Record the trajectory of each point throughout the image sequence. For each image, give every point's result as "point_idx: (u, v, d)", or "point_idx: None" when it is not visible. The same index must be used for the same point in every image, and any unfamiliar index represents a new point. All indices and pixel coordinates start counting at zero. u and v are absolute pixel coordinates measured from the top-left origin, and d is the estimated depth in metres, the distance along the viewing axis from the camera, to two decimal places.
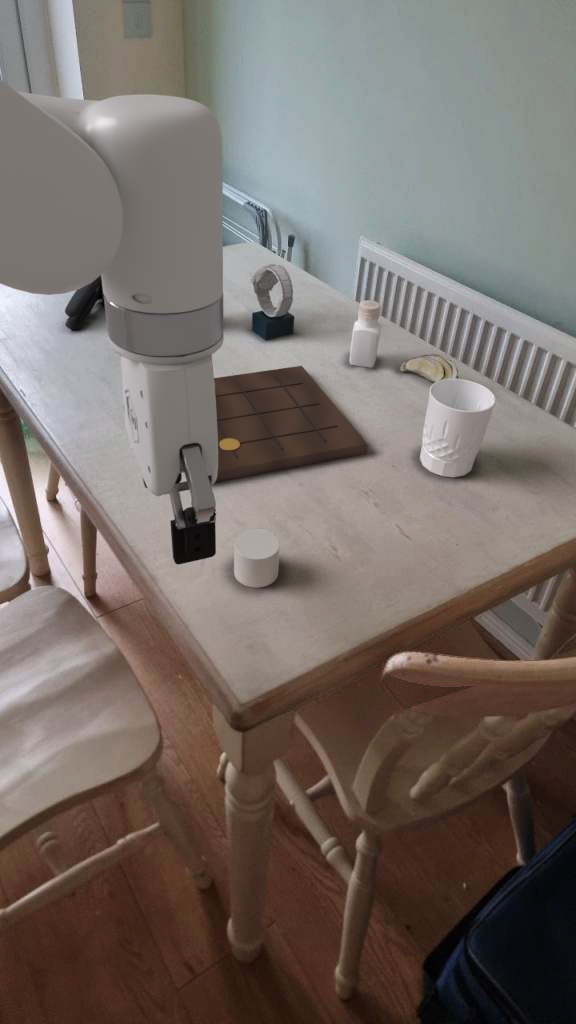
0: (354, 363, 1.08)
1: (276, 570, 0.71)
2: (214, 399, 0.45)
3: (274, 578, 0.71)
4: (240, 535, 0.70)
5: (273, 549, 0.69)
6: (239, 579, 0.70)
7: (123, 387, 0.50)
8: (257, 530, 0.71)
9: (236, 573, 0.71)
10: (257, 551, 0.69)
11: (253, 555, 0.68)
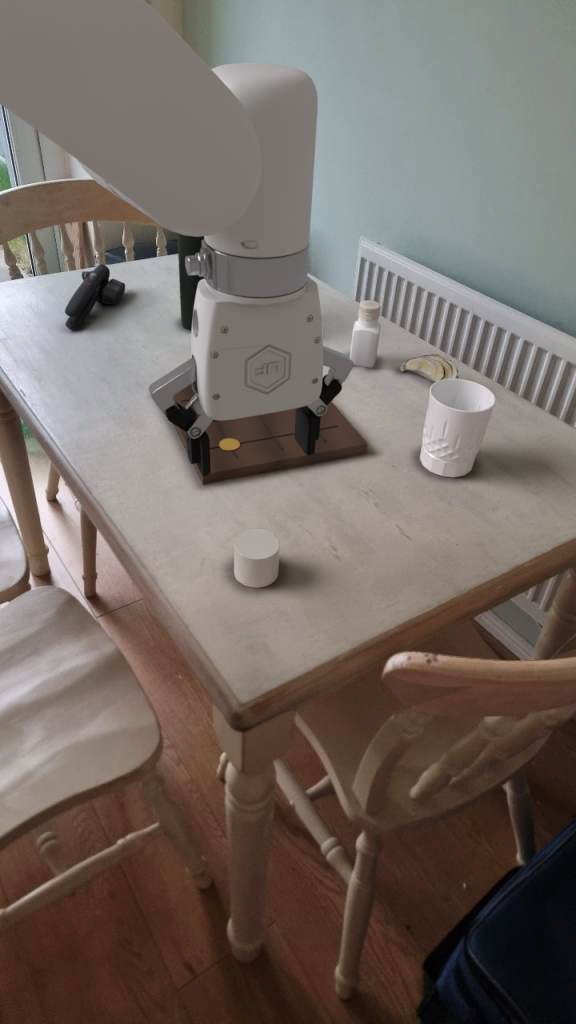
0: (354, 363, 1.08)
1: (276, 570, 0.71)
2: None
3: (274, 578, 0.71)
4: (240, 535, 0.70)
5: (273, 549, 0.69)
6: (239, 579, 0.70)
7: (230, 366, 0.52)
8: (257, 530, 0.71)
9: (236, 573, 0.71)
10: (257, 551, 0.69)
11: (253, 555, 0.68)
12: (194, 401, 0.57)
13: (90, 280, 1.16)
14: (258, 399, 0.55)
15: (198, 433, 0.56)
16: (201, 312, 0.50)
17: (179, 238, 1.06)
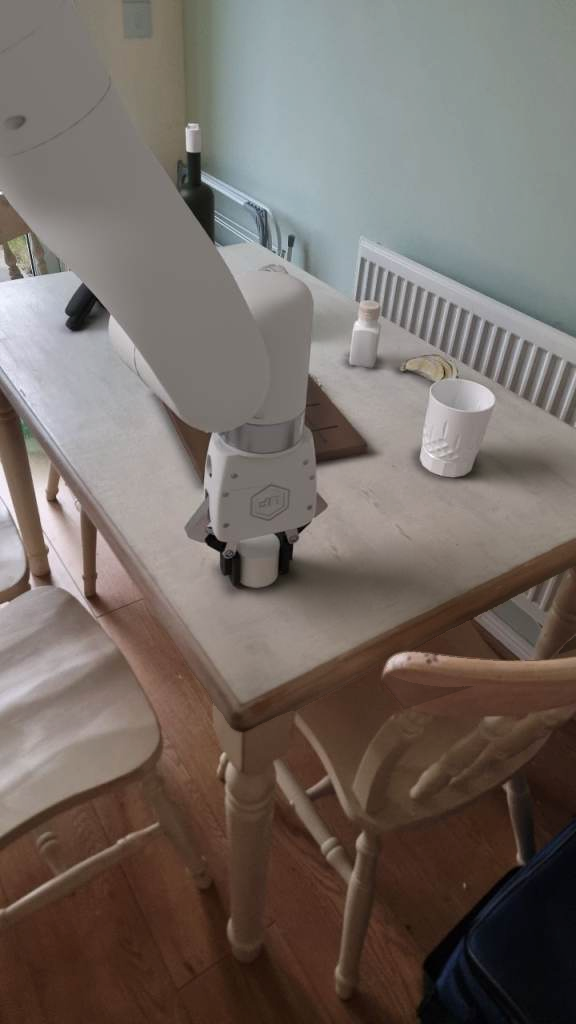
0: (354, 363, 1.08)
1: (276, 570, 0.71)
2: None
3: (274, 578, 0.71)
4: None
5: (273, 549, 0.69)
6: None
7: (238, 502, 0.61)
8: None
9: None
10: (257, 551, 0.69)
11: (253, 555, 0.68)
12: None
13: None
14: (261, 525, 0.64)
15: (231, 554, 0.67)
16: (215, 461, 0.60)
17: None
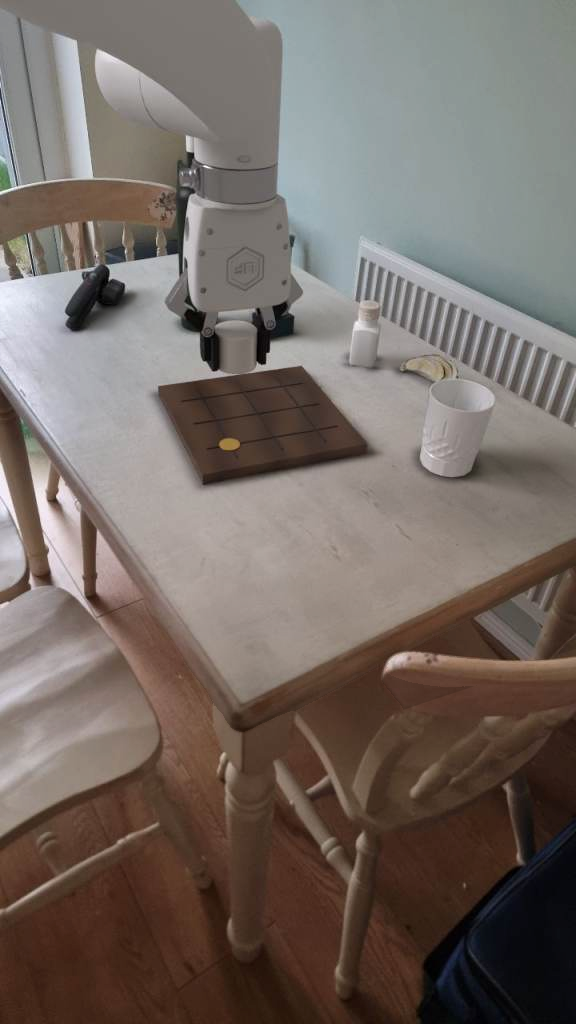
0: (354, 363, 1.08)
1: (254, 358, 0.74)
2: None
3: (252, 367, 0.74)
4: (220, 323, 0.73)
5: (250, 333, 0.72)
6: None
7: (214, 263, 0.65)
8: (236, 321, 0.74)
9: None
10: (235, 334, 0.72)
11: (231, 337, 0.71)
12: None
13: (90, 280, 1.16)
14: (237, 295, 0.67)
15: (210, 333, 0.70)
16: (191, 217, 0.63)
17: (179, 238, 1.06)
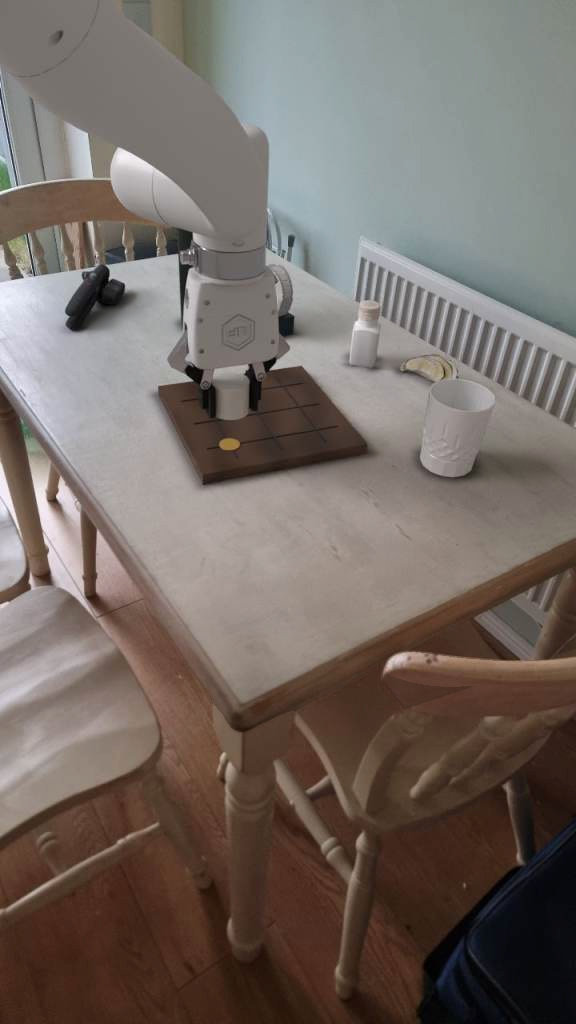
0: (354, 363, 1.08)
1: (247, 406, 0.83)
2: None
3: (245, 413, 0.83)
4: (216, 375, 0.82)
5: (243, 385, 0.81)
6: None
7: (211, 329, 0.73)
8: (230, 372, 0.83)
9: None
10: (230, 385, 0.81)
11: (226, 388, 0.80)
12: None
13: (90, 280, 1.16)
14: (231, 354, 0.76)
15: (207, 385, 0.79)
16: (191, 290, 0.72)
17: (179, 238, 1.06)
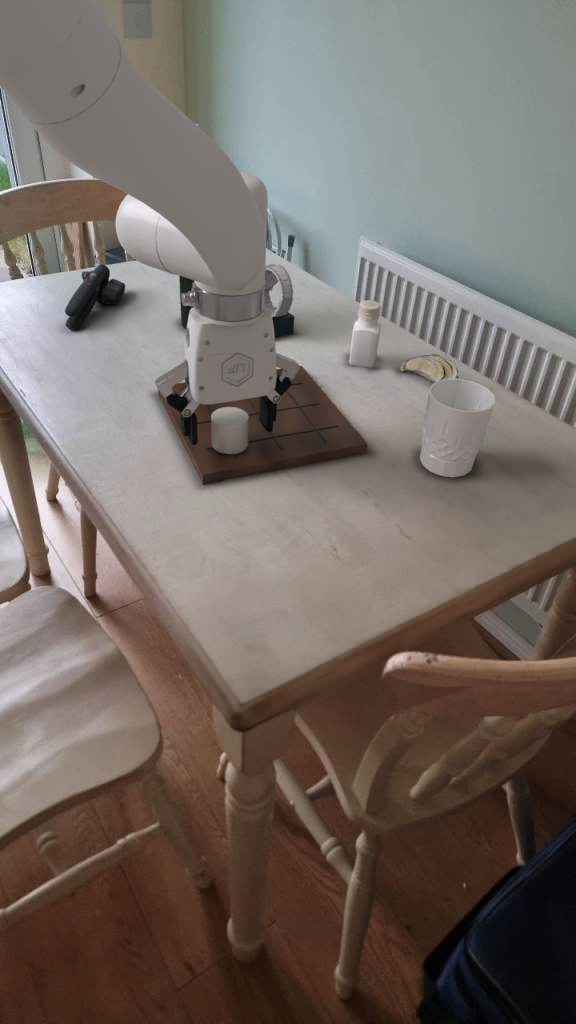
0: (354, 363, 1.08)
1: (246, 440, 0.86)
2: None
3: (244, 447, 0.86)
4: (216, 410, 0.85)
5: (243, 420, 0.84)
6: (215, 447, 0.85)
7: (211, 367, 0.76)
8: (230, 408, 0.86)
9: (213, 442, 0.86)
10: (229, 421, 0.84)
11: (226, 424, 0.83)
12: (186, 391, 0.81)
13: (90, 280, 1.16)
14: (231, 390, 0.79)
15: (189, 413, 0.81)
16: (192, 330, 0.74)
17: None
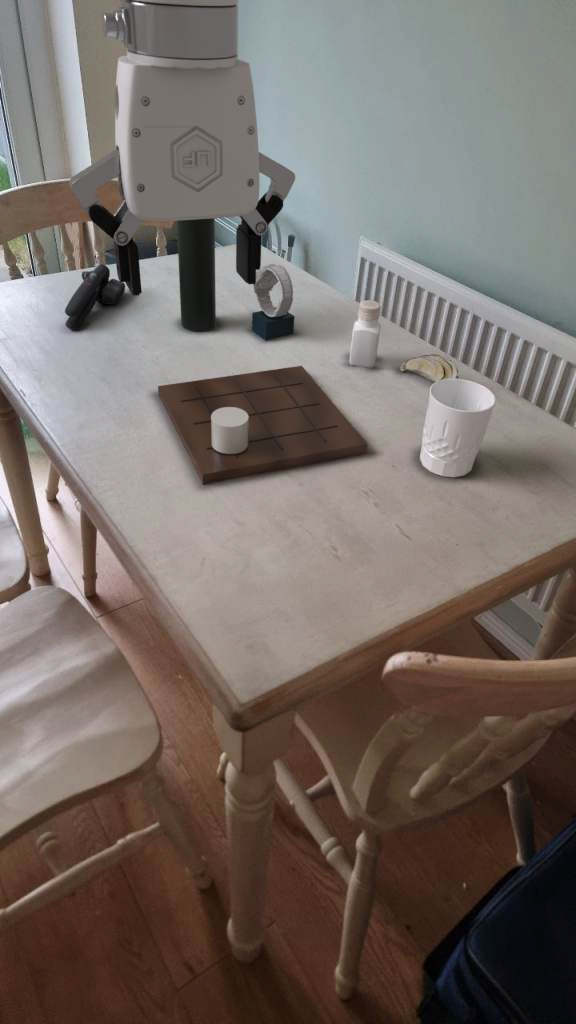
0: (354, 363, 1.08)
1: (246, 440, 0.86)
2: None
3: (244, 447, 0.86)
4: (216, 410, 0.85)
5: (243, 420, 0.84)
6: (215, 447, 0.85)
7: (154, 149, 0.48)
8: (230, 408, 0.86)
9: (213, 442, 0.86)
10: (229, 421, 0.84)
11: (226, 424, 0.83)
12: (122, 207, 0.53)
13: (90, 280, 1.16)
14: (188, 197, 0.51)
15: (125, 240, 0.52)
16: (120, 81, 0.46)
17: (179, 238, 1.06)
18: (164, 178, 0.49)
